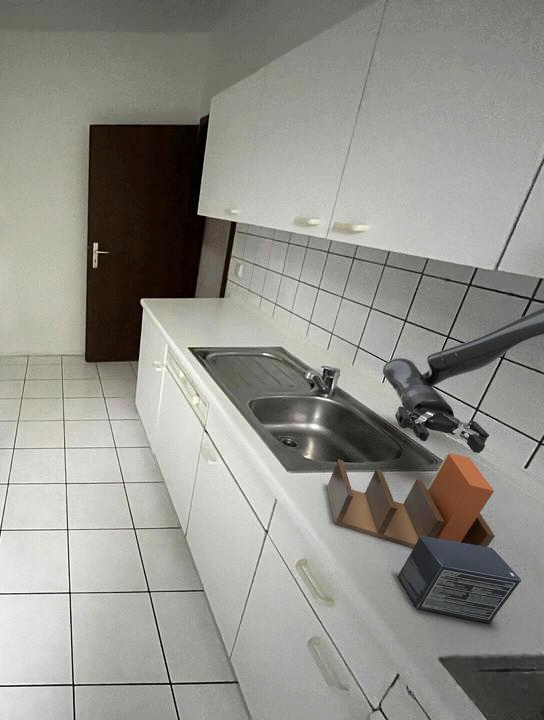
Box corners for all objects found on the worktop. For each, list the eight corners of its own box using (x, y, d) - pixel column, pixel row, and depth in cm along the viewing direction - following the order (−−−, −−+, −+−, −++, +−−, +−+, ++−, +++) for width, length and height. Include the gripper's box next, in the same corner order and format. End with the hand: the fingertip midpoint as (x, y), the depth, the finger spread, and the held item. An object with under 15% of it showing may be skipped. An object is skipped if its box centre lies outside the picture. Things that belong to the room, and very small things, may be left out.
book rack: (448, 520, 81) (465, 491, 78) (473, 566, 71) (495, 536, 68) (327, 486, 89) (338, 459, 86) (334, 524, 80) (347, 494, 76)
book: (436, 513, 81) (469, 456, 75) (455, 550, 73) (494, 491, 67) (416, 507, 83) (447, 451, 76) (433, 544, 74) (470, 485, 68)
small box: (463, 587, 68) (493, 545, 63) (492, 625, 62) (526, 582, 57) (395, 574, 70) (418, 532, 65) (415, 609, 64) (443, 566, 59)
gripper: (394, 385, 93) (415, 419, 80) (471, 399, 87) (508, 438, 74) (382, 411, 96) (401, 448, 83) (456, 426, 91) (489, 468, 77)
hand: (451, 443), depth 78 cm, fingers open, 8 cm apart
